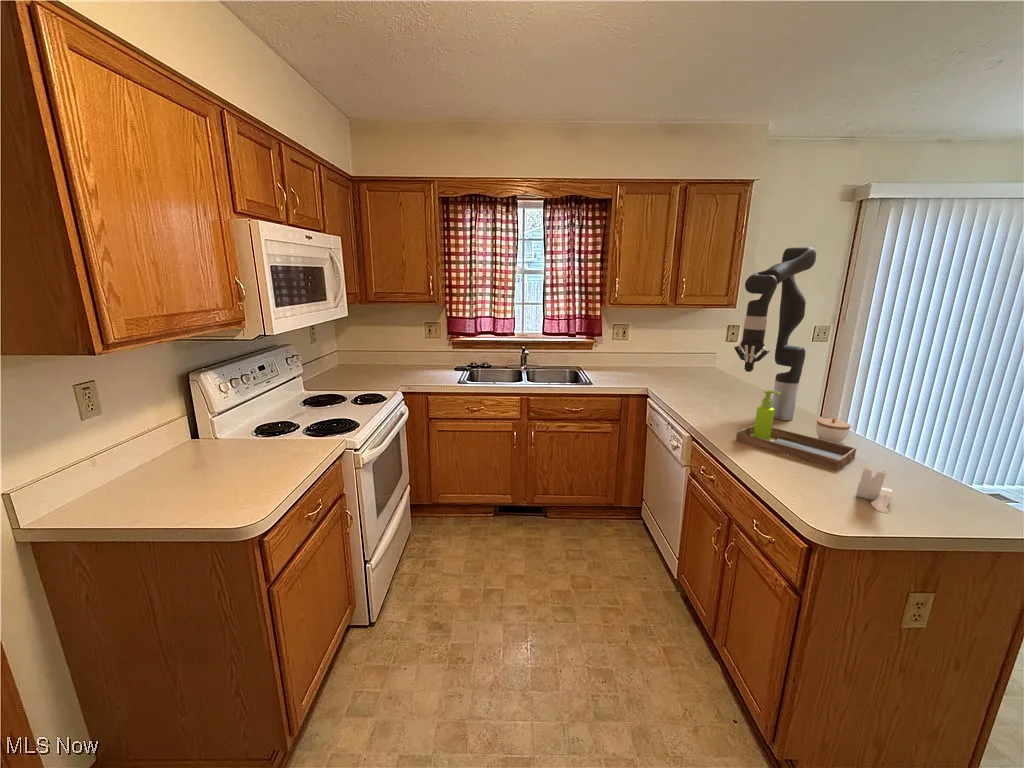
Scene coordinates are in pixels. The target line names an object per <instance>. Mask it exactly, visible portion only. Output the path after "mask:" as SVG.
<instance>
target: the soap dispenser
mask: <svg viewBox="0 0 1024 768" xmlns="http://www.w3.org/2000/svg"><path fill="white" fill-rule="evenodd" d="M763 392H764V393H765V396H764V397H763V398H762V400H761V405H759V406H757V407H756V408H757V409H756V414H755V420H754V424H755V427H754V433H753V434H752V436H754V437H757V438H761V439H765V440H768V441H771V437H772V436H771V429H772V427H773V422H774V418H773V417H774V411H775V409H774V408H772V407H771V406H772V398H771V394H773V393H776V394H781V393H780V392H777V391H774V390H768V389H767V390H764V391H763Z"/></svg>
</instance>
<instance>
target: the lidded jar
mask: <svg viewBox="0 0 1024 768" xmlns="http://www.w3.org/2000/svg"><path fill="white" fill-rule="evenodd" d="M815 425H816V426H815V431H816V434H817V437H818V439H822V440H826V441H830V442H834V443H838V444H840V443H841V442H843V441H844V440H846V439H847V437H848V435H849V432H850V429H851V424H850V423H849V422H846V421H843V420H840V419H837V418H836V417H835V418H834V417H832V418H827V417H826V418H824V417H823V418H818V419H816V423H815Z"/></svg>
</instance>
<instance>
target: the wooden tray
mask: <svg viewBox="0 0 1024 768" xmlns="http://www.w3.org/2000/svg"><path fill="white" fill-rule="evenodd" d="M754 427H755V423H754V424H752V425H751V426H748V427H746V428H743V429H742V430H739V431H737V432H736V435H735V441H736V442H738V441H739V442H740V443H741V442H743V443H742V444H745V443H746V444H745V445H748V444H750V446H752V445H754V446H753V447H755V446H757V447H756V448H759V447H760V449H762V448H763V450H766V449H767V450H766V451H769V450H771V451H770V452H773V451H774V453H776V452H777V454H780V453H781V454H780V455H783V454H785V455H784V456H787V455H788V456H787V457H790V456H791V457H790V458H794V457H795V459H797V458H798V460H801V461H804V460H805V462H808V463H811V462H812V464H815V463H816V465H818V464H819V466H822V467H825V466H826V468H828V467H829V469H833V470H835V469H836V471H840V470H841V469H842V468H843V467H845V466H846V465H847V464H848V463H849V462H851V461H852V460H853V459H854V458H855V456H856V453H857V448H856V447H854V446H850V445H849V446H848V445H845V444H841V443H839V444H838V443H834V442H830V441H826V440H822V439H820V438H817V437H812V436H808V435H804V434H801V433H796V432H792V431H789V430H785V429H781V428H777V427H774V426H772V429H771V435H772V436H771V437H773V436H775V437H774V438H777V437H779V438H777V439H775V440H773V441H772V440H770V441H768V440H765V439H761V438H757V437H754V436H753V434H752V433H754ZM750 434H751V435H750ZM851 459H852V460H851ZM850 460H851V461H850ZM845 464H846V465H845Z"/></svg>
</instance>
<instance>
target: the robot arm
mask: <svg viewBox="0 0 1024 768" xmlns="http://www.w3.org/2000/svg"><path fill="white" fill-rule="evenodd" d="M816 260H817V252H816V250H815V248H813V247H810V246H800V247H799V246H798V247H788V248H785V249H784V252H783V254H782V258H781V262H778V263H776V264H774V265H772V266H771V267H769V268H767V269H766V270H762V271H758V272H756V273H753V274H751V275H750V276H748V278H747V279H746V280H745V283H744V288H745V291H746V292H747V293H749V294H753V295H758V294H759V295H761V296H760V297H759V298H758V299H753V300H750V301H748V304H747V307H746V314H745V318H744V319H745V320H744V322H743V331H742V336H741V337H742V339H741V342H740V344H738V345H737V346H734V348H733V349H734V350H735V352H736V353H737V356H738V357H739V359H740V360H741V361H742V360H743V361H744V370H745V372H746V373H751V372H752V371H754V366H755V363H757V362H760V361H761V360H762V359H763V358H765V357H766V356H767V355H768V354H769V353H771V352H770V349H767V348H766V346H765V343H764V341H765V337H766V329H767V321H768V320H767V316H768V312H769V311H768V310H769V305H770V304H771V300H772V298H773V296H774V294H775V291H776V289H777V286H778V285H779V284H780V283H781V294H780V304H779V316H778V317H779V318H778V319H779V320H778V322H779V323H778V333H777V339H776V345H775V350H774V362H775V364H777V365H778V366H782V367H783V366H785V367H790V370H789V371H786V372H779V373H777V374H776V375H775V380H774V384H773V385H774V386H773V391H777V392H780V393H781V394H776V393H772V398H771V399H772V406H771V407H772V408H774V409H775V411H774V417H773V419H774V418H775V419H774V420H778V419H780V420H779V421H785V420H789V421H792V419H794V413H795V408H796V403H797V398H798V391H799V385H800V380H801V376H802V373H803V372H802V371H803V367H804V364H805V360H806V349H805V348H804V347H803V346H795V345H789V343H788V341H789V338H790V336H791V334H792V333H793V331H795V330H796V328H797V327H798V326H799V325H800V324H801V322H802V321H803V319H804V318H805V315H806V304H807V301H806V299H805V297H804V295H803V292H802V291H801V290H800V288H799V287H798V284H797V282H796V279H795V275H797V274H799V273H802V272H805V271H807V270H810V269H811V268H812V267H813V266H814V265H815V264H816ZM759 353H760V354H759ZM758 354H759V355H758Z"/></svg>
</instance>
